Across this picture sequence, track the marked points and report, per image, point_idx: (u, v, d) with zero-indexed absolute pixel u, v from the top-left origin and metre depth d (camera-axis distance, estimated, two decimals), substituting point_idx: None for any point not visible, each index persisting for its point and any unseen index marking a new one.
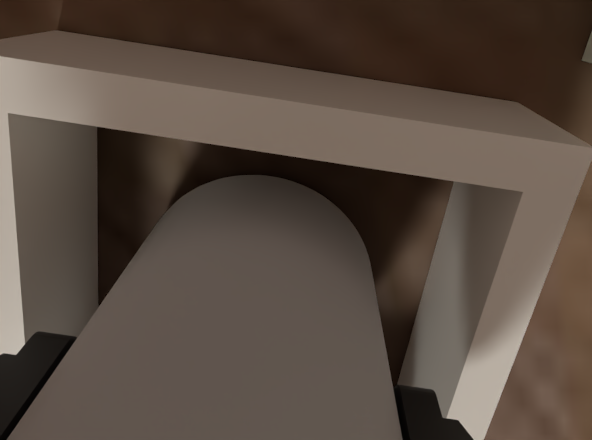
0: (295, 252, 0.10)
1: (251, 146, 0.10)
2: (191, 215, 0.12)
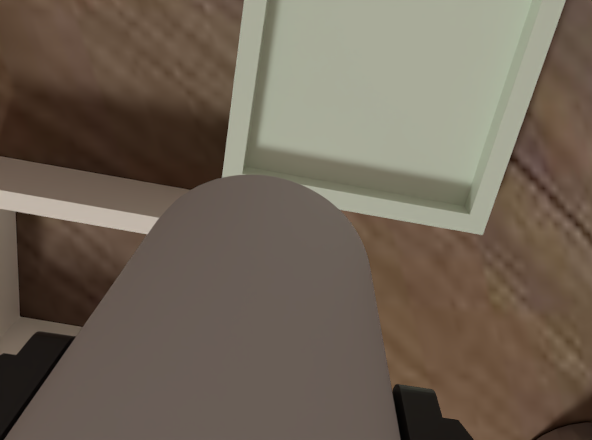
0: (292, 252, 0.10)
1: (61, 217, 0.26)
2: (188, 214, 0.12)
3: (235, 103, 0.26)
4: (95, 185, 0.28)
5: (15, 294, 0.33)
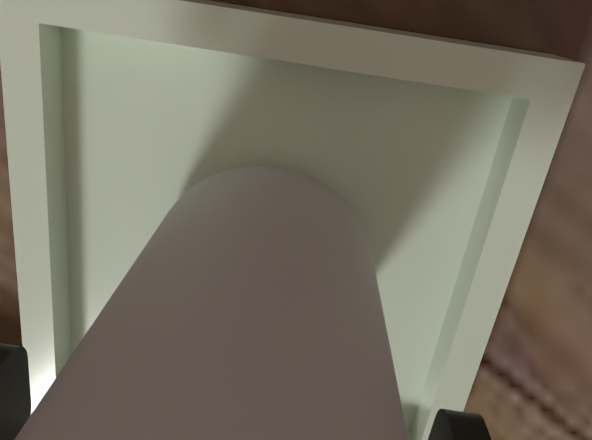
0: (301, 235, 0.11)
1: None
2: (202, 202, 0.12)
3: (26, 313, 0.16)
4: None
5: None
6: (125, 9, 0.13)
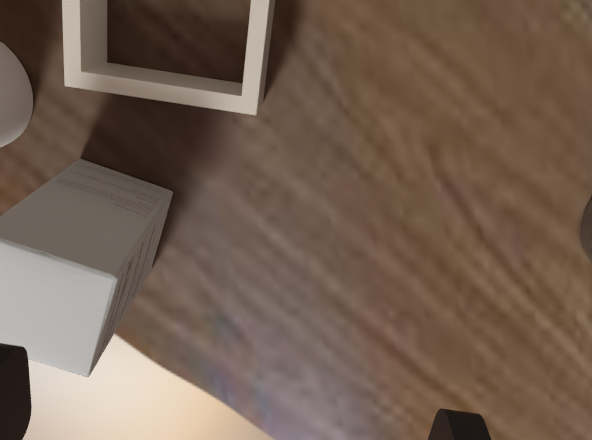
0: None
1: None
2: None
3: None
4: None
5: (104, 32, 0.34)
6: None
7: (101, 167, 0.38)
